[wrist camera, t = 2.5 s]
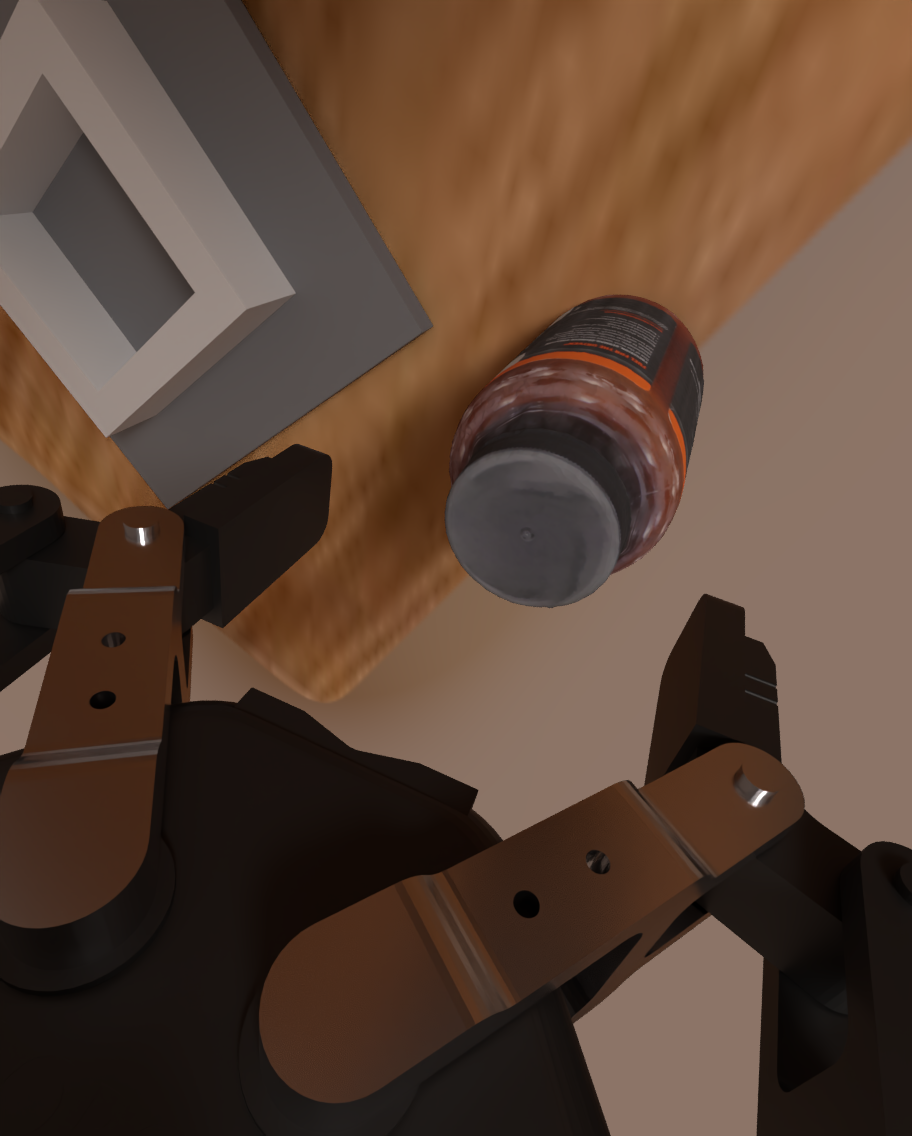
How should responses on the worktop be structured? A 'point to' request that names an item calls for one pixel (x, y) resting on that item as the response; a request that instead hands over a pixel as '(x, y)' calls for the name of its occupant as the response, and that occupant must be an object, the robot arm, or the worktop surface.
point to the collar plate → (181, 232)
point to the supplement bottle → (575, 452)
